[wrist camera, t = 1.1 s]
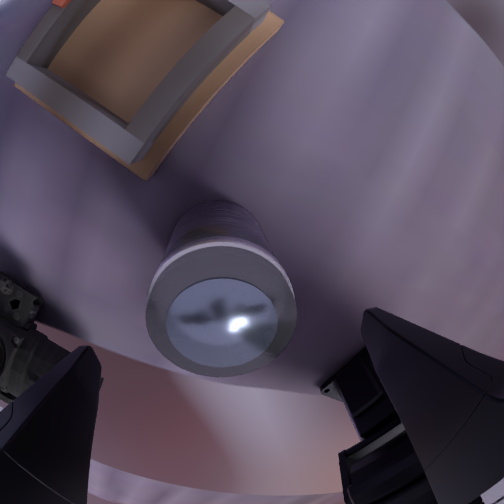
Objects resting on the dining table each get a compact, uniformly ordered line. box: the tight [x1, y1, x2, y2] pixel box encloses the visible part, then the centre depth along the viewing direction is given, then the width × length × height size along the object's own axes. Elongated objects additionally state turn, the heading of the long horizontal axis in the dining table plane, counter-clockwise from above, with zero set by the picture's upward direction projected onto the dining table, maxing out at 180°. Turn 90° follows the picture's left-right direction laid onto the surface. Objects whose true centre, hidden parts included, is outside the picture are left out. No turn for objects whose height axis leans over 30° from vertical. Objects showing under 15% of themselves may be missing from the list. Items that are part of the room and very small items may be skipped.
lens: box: [146, 200, 297, 377], centre depth 12 cm, size 5×5×7 cm
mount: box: [6, 0, 284, 181], centre depth 9 cm, size 10×10×4 cm
